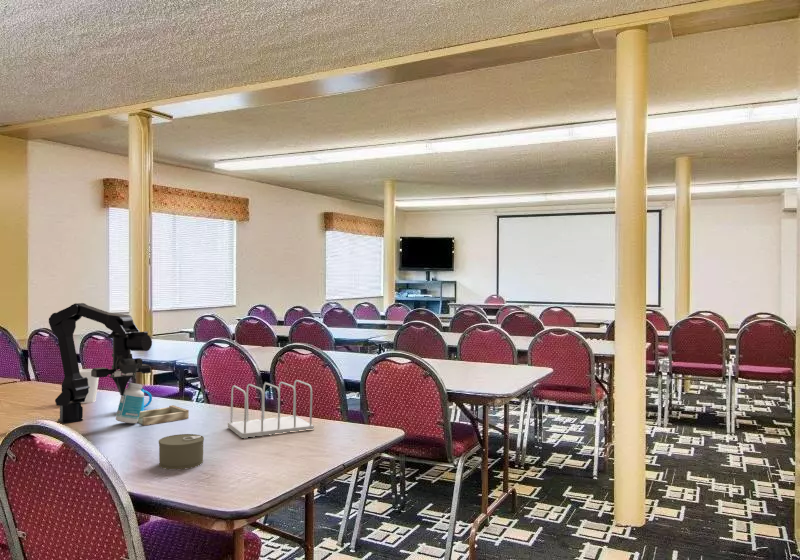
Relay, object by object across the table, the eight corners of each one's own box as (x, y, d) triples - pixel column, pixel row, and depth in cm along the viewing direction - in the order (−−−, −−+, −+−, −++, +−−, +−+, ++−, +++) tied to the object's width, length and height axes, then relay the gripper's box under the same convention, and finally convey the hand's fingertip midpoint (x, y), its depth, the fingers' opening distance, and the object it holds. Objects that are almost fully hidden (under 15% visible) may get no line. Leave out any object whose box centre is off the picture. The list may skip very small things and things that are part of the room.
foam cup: (69, 402, 259) (69, 371, 259) (86, 398, 268) (86, 368, 268) (87, 404, 256) (88, 372, 256) (104, 400, 265) (104, 369, 265)
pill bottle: (141, 423, 225) (151, 386, 227) (128, 423, 218) (138, 385, 220) (123, 419, 226) (133, 382, 229) (110, 419, 219) (120, 381, 222)
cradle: (144, 425, 220) (144, 416, 220) (129, 419, 229) (129, 411, 229) (188, 418, 232) (188, 410, 232) (173, 413, 241) (173, 405, 241)
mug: (127, 414, 239) (127, 392, 239) (117, 411, 244) (117, 390, 244) (157, 409, 248) (157, 388, 248) (146, 406, 253) (146, 386, 253)
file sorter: (242, 439, 203) (242, 391, 203) (227, 428, 218) (227, 383, 218) (314, 430, 216) (314, 385, 216) (295, 420, 230) (295, 378, 230)
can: (151, 463, 176) (151, 438, 176) (191, 455, 184) (191, 431, 184) (169, 473, 167) (170, 447, 167) (211, 464, 176) (211, 439, 176)
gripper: (102, 353, 209) (102, 401, 208) (157, 350, 222) (157, 394, 221) (90, 352, 217) (90, 397, 216) (144, 348, 230) (144, 391, 229)
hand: (121, 395), depth 221 cm, fingers closed
